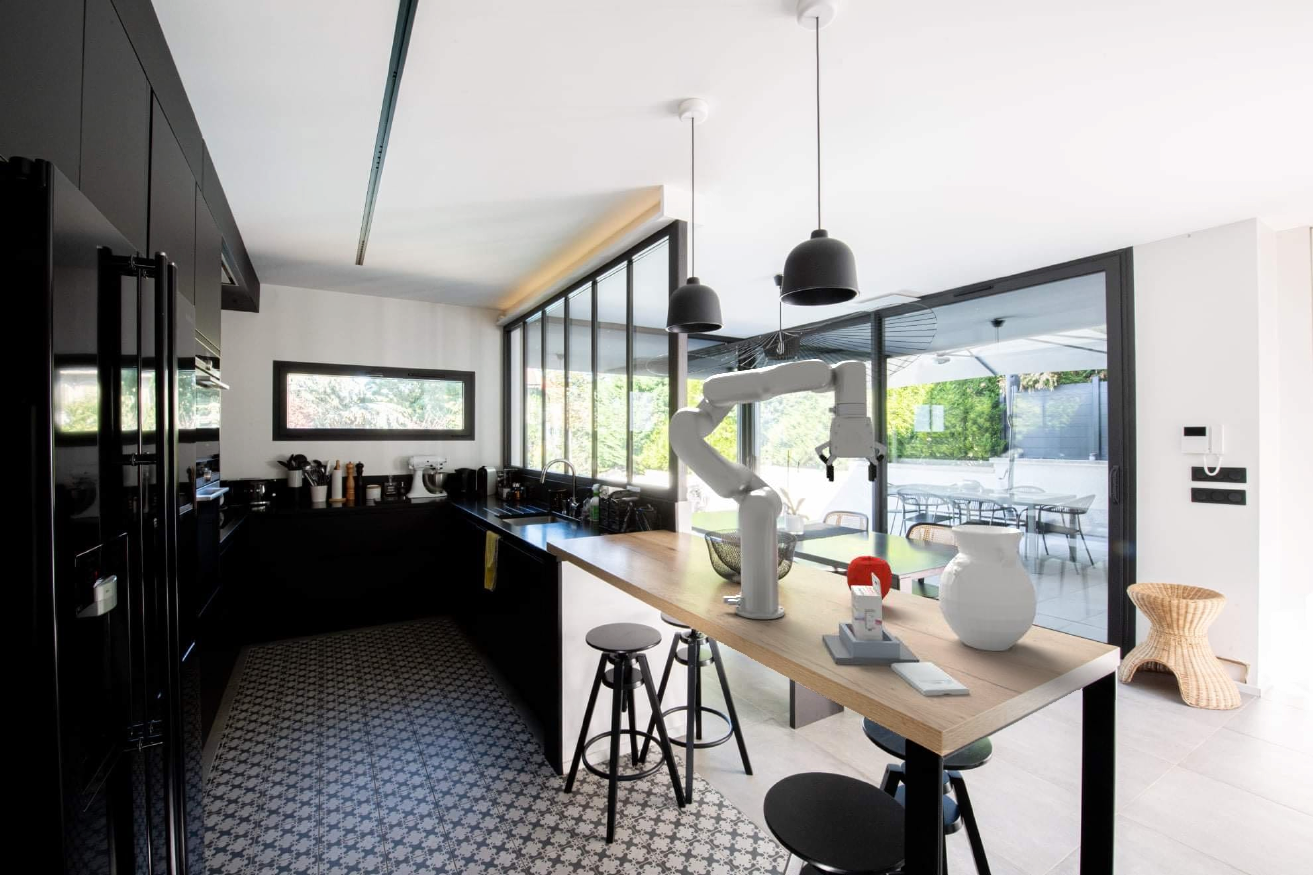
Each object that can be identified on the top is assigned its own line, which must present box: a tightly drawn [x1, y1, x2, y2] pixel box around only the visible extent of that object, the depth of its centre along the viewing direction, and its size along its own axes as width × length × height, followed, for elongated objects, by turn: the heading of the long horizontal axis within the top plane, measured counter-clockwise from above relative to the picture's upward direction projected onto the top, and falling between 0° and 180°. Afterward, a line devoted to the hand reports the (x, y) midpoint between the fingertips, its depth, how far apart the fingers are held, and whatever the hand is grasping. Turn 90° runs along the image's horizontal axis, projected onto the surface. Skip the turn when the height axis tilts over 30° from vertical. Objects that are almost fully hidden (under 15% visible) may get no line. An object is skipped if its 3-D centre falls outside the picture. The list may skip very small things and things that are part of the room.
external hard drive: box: [890, 661, 970, 696], centre depth 108 cm, size 2×8×12 cm
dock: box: [821, 621, 920, 666], centre depth 123 cm, size 16×14×4 cm
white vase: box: [938, 524, 1037, 652], centre depth 128 cm, size 19×18×25 cm
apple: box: [846, 555, 893, 601], centre depth 159 cm, size 12×12×13 cm
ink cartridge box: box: [850, 573, 883, 641], centre depth 123 cm, size 9×5×15 cm, turn 172°
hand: (851, 481), depth 145 cm, fingers open, 9 cm apart
